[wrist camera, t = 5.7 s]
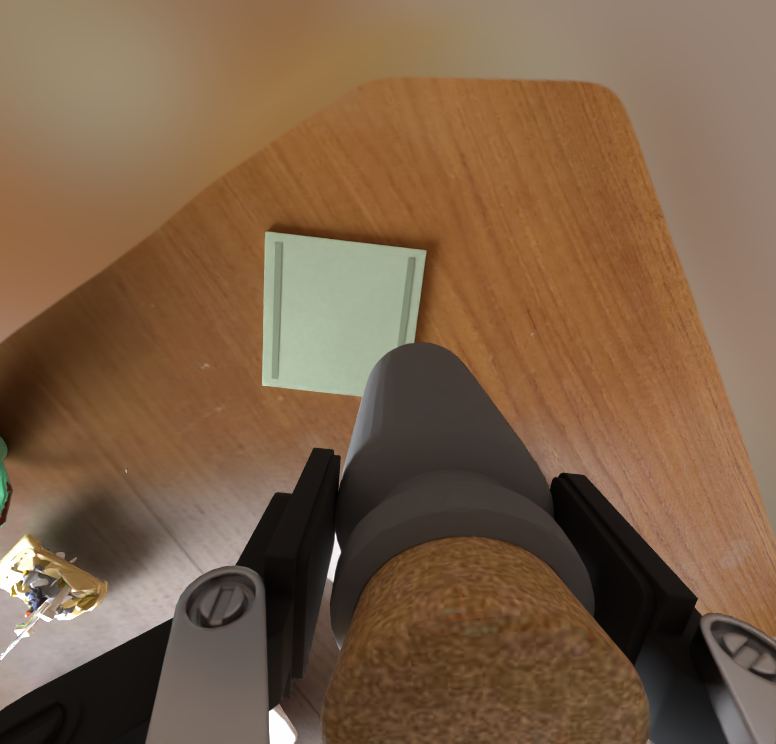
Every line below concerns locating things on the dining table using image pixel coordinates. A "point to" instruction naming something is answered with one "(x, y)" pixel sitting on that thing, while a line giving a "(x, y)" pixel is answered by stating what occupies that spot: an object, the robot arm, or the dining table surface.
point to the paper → (334, 560)
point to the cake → (47, 585)
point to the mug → (4, 485)
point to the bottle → (461, 581)
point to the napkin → (335, 310)
